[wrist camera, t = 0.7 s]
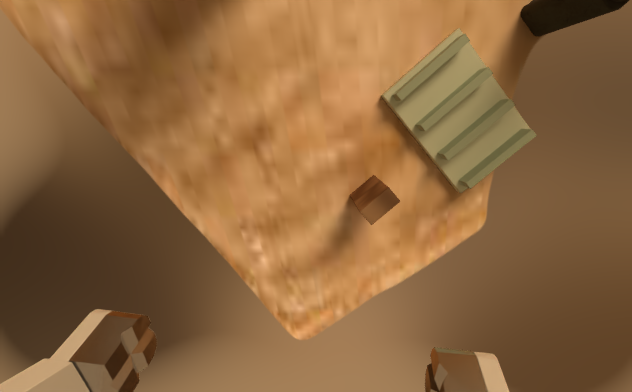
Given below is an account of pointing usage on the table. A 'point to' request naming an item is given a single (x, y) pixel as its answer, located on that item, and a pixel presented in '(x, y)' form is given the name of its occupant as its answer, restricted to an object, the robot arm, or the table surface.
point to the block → (374, 199)
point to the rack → (458, 112)
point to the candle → (564, 13)
